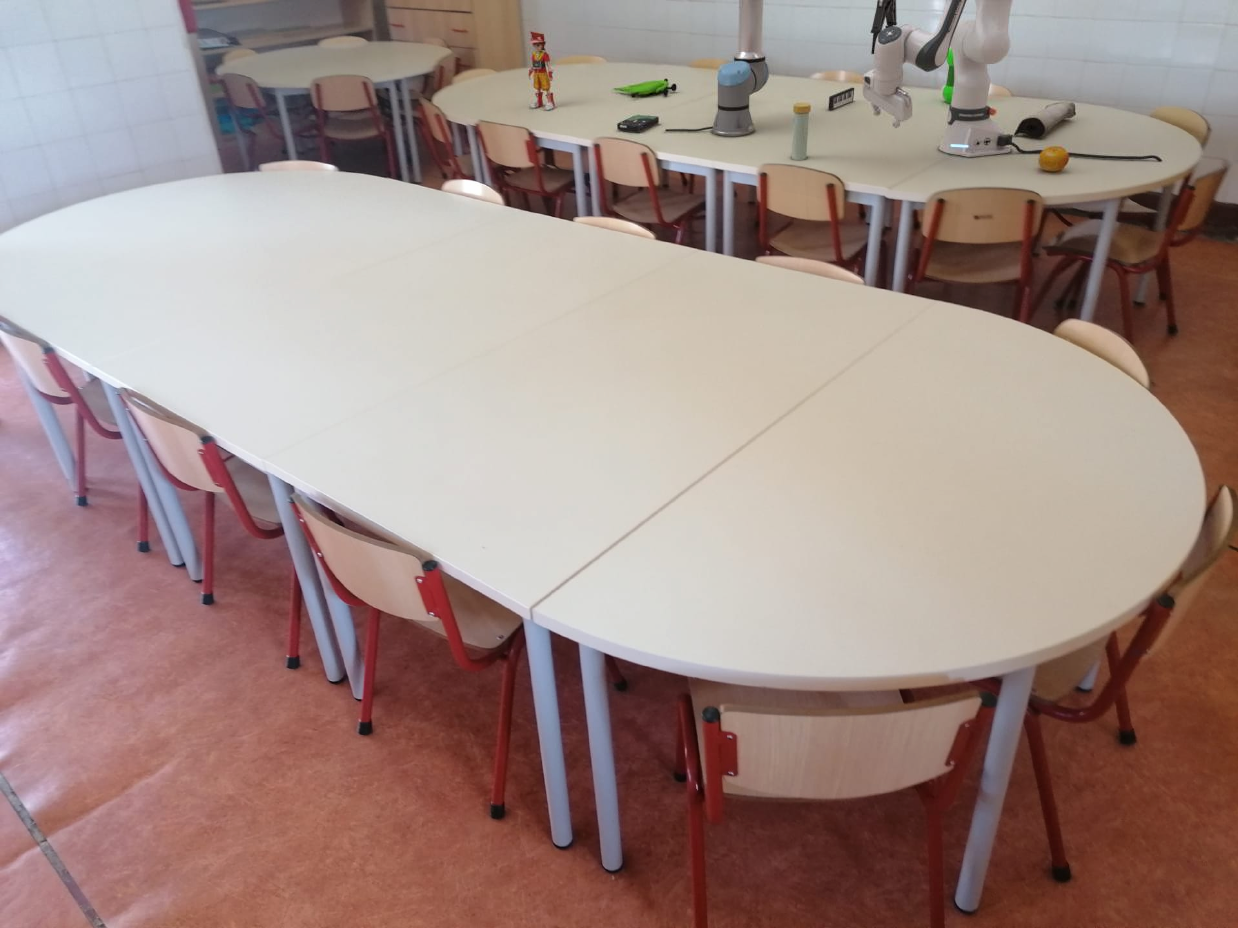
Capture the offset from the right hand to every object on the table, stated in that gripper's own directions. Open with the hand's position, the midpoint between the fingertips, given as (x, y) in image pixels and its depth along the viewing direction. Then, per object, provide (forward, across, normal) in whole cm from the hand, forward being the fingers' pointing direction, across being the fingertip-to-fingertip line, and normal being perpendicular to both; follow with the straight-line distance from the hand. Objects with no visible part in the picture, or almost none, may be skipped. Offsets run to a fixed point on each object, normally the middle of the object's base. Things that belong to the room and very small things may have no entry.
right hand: (886, 120), depth 291 cm
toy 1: (+25, +139, +68) cm, 157 cm away
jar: (+10, +16, +23) cm, 30 cm away
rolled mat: (+31, -9, -63) cm, 71 cm away
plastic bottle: (+42, +36, -64) cm, 85 cm away
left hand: (-3, +29, -21) cm, 36 cm away
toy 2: (+38, +135, +24) cm, 142 cm away
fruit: (+13, -42, -30) cm, 53 cm away
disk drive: (+18, +85, +50) cm, 100 cm away
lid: (-6, +20, +18) cm, 28 cm away
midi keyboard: (+37, +61, -28) cm, 76 cm away
